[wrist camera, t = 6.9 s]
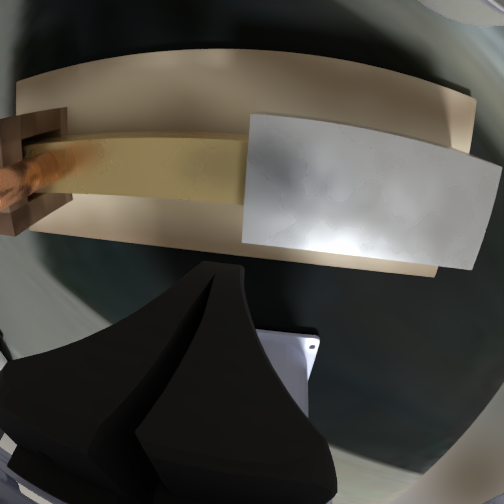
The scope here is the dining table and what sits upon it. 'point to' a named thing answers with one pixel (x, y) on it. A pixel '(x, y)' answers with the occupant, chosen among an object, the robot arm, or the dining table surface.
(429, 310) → the dining table surface
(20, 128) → the walnut socket
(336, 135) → the steel block
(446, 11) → the teacup
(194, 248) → the birch board
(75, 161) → the gold square bar
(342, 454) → the dining table surface
